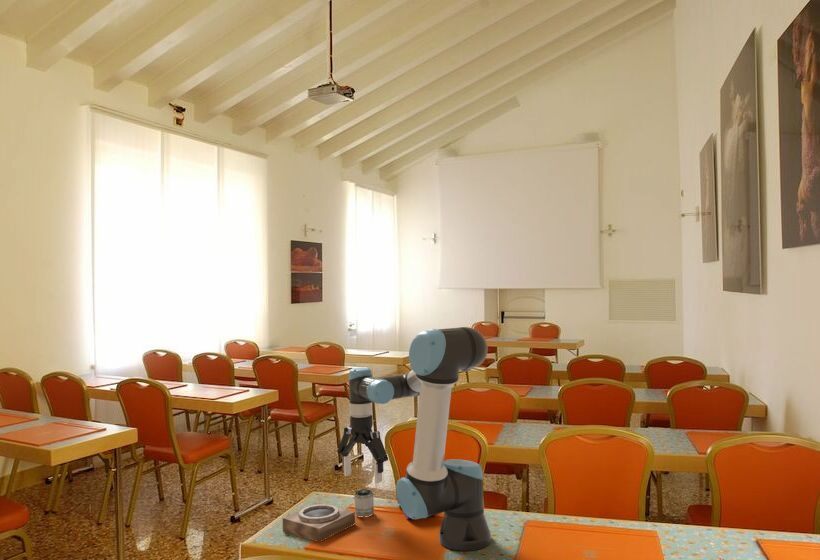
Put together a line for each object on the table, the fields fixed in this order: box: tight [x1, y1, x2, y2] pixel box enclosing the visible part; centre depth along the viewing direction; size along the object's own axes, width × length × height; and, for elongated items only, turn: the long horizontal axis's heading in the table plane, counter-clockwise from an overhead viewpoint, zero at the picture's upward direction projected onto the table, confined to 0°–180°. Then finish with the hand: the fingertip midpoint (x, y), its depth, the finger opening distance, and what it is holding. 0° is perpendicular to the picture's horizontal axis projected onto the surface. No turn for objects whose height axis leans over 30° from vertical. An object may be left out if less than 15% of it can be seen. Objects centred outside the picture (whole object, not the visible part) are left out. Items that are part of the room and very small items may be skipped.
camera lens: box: [353, 488, 375, 517], centre depth 209 cm, size 6×6×8 cm
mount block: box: [282, 502, 356, 542], centre depth 199 cm, size 16×16×5 cm
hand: (362, 478), depth 209 cm, fingers open, 13 cm apart
